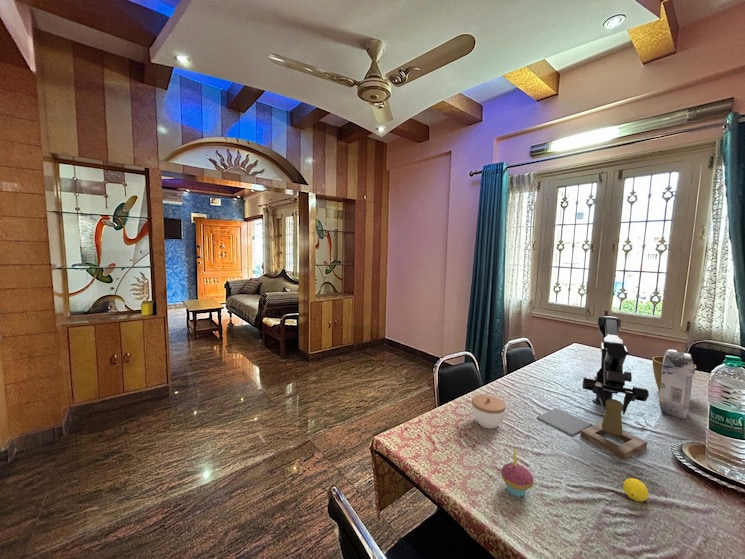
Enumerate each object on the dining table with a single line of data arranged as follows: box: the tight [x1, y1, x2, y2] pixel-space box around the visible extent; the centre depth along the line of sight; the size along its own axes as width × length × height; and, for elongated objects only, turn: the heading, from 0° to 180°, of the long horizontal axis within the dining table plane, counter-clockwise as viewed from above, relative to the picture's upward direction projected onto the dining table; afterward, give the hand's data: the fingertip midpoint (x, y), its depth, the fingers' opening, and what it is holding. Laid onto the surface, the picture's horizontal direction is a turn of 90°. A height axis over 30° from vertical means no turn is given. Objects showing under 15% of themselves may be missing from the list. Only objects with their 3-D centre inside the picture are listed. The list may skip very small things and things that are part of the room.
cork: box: [602, 398, 624, 435], centre depth 110 cm, size 6×6×11 cm
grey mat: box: [536, 407, 593, 437], centre depth 124 cm, size 14×14×1 cm
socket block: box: [579, 421, 648, 461], centre depth 111 cm, size 14×14×2 cm
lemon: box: [622, 477, 650, 502], centre depth 86 cm, size 7×5×5 cm
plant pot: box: [652, 356, 697, 393], centre depth 146 cm, size 15×15×16 cm
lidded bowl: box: [471, 394, 507, 430], centre depth 122 cm, size 13×13×11 cm
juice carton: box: [658, 349, 694, 420], centre depth 129 cm, size 9×10×27 cm
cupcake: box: [500, 447, 535, 497], centre depth 89 cm, size 9×8×12 cm
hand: (614, 411), depth 109 cm, fingers closed on cork, 5 cm apart
